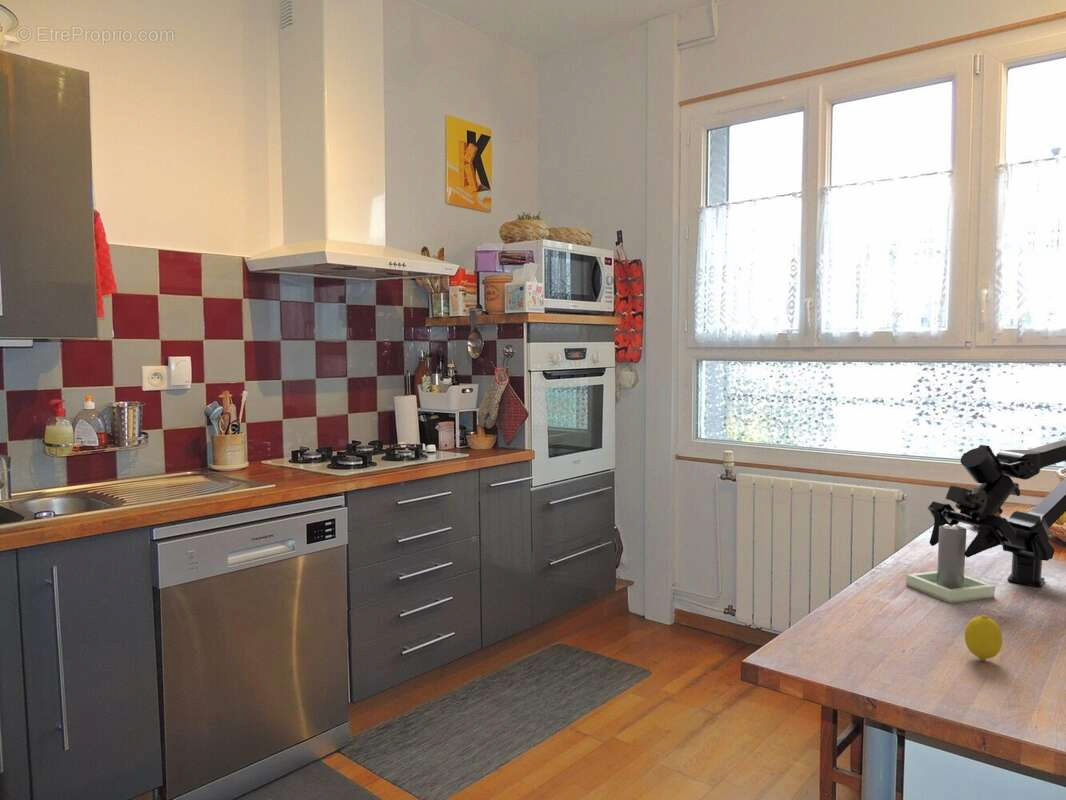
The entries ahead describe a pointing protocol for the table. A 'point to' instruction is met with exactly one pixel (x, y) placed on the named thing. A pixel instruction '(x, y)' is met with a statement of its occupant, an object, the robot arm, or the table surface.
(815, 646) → the table surface
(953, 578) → the grey can
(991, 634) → the lemon
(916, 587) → the sage dish
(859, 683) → the table surface
